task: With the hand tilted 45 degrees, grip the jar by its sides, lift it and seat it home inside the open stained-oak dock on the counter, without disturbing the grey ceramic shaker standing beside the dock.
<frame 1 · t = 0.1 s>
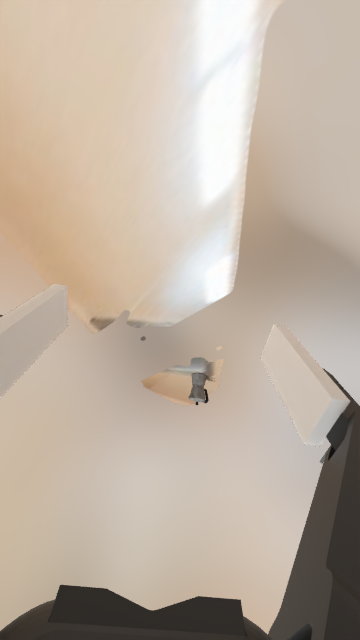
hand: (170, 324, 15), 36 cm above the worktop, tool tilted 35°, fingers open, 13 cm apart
coffeepot: (200, 375, 151), on the worktop
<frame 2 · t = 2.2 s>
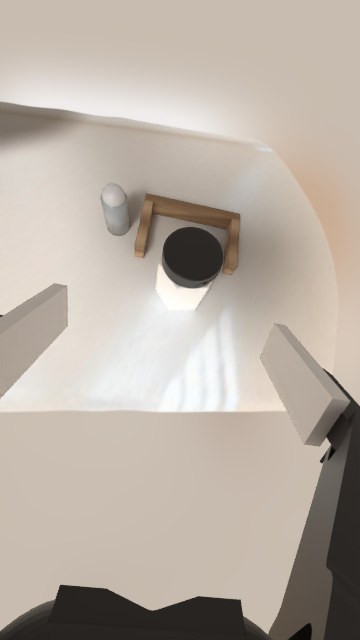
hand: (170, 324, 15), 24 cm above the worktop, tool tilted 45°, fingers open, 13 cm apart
jar: (180, 290, 43), on the worktop
shaker: (118, 226, 45), on the worktop
dock: (187, 242, 46), on the worktop
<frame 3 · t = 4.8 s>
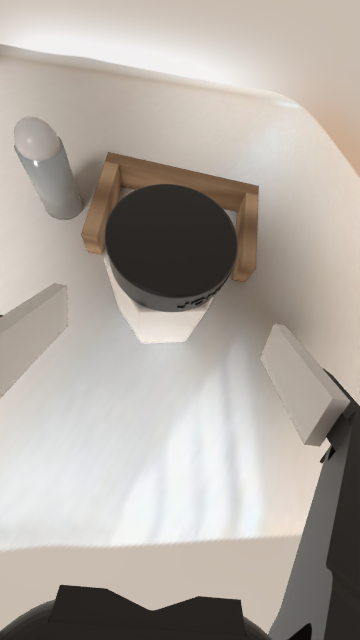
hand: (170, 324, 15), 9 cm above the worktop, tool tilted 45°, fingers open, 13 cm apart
jar: (161, 308, 26), on the worktop
shaker: (64, 205, 28), on the worktop
dock: (174, 231, 29), on the worktop
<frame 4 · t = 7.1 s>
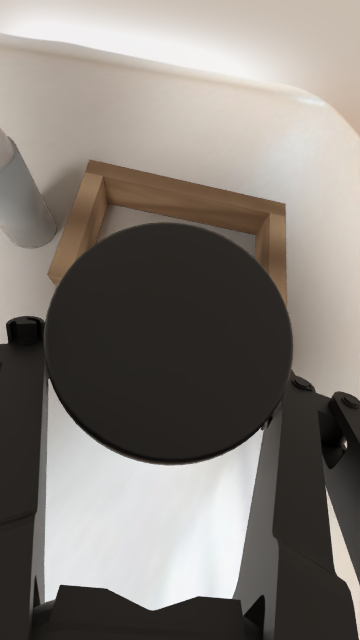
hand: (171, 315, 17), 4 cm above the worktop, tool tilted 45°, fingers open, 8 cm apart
jar: (158, 369, 19), on the worktop, touching gripper
shaker: (32, 229, 21), on the worktop
dock: (176, 262, 22), on the worktop
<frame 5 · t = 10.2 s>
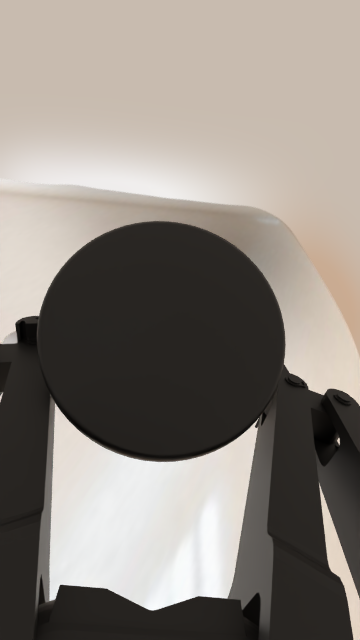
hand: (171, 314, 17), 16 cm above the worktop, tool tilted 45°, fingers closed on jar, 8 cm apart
jar: (154, 368, 19), point 12 cm above the worktop, touching gripper
when the fingers open (6 cm above the worktop, at t = 12.9 s): jar drops 2 cm, on the worktop.
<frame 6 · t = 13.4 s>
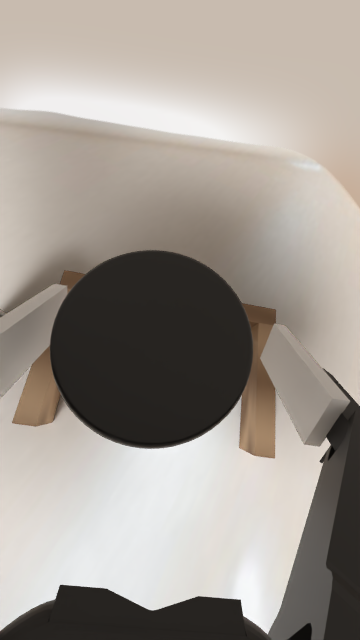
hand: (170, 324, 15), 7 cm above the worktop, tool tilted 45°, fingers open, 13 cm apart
jar: (151, 371, 21), on the worktop
dock: (159, 372, 21), on the worktop
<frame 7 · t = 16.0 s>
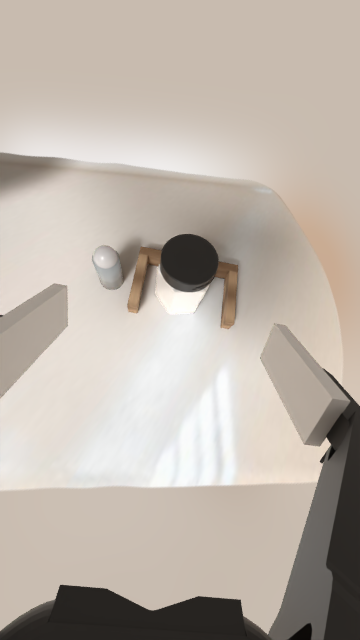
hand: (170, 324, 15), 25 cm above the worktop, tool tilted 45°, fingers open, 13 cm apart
jar: (179, 294, 44), on the worktop
shaker: (112, 279, 43), on the worktop
dock: (183, 295, 44), on the worktop
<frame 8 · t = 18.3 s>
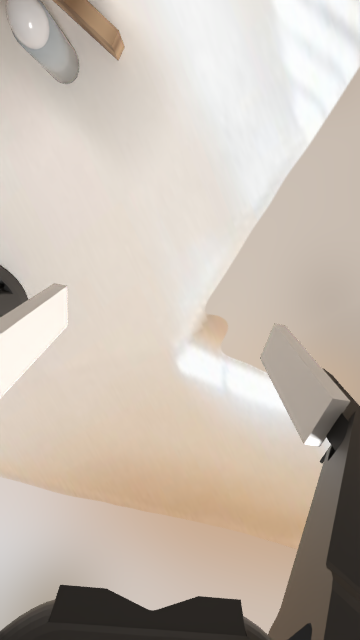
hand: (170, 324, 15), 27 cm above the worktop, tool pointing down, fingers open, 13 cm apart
shaker: (62, 62, 30), on the worktop
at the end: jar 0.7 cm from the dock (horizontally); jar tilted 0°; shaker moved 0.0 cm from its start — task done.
